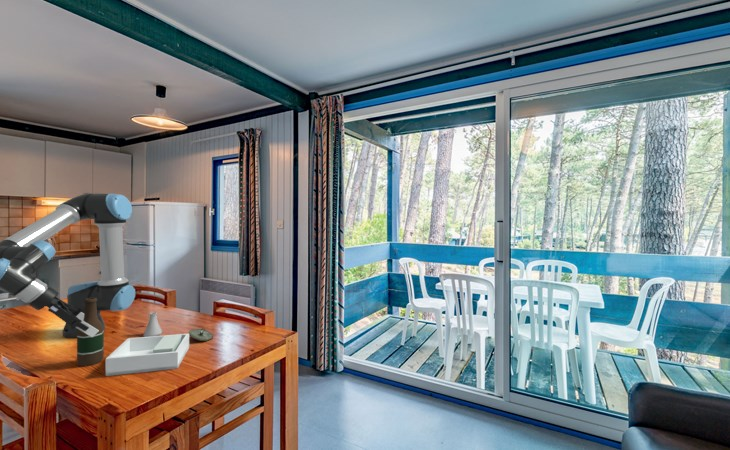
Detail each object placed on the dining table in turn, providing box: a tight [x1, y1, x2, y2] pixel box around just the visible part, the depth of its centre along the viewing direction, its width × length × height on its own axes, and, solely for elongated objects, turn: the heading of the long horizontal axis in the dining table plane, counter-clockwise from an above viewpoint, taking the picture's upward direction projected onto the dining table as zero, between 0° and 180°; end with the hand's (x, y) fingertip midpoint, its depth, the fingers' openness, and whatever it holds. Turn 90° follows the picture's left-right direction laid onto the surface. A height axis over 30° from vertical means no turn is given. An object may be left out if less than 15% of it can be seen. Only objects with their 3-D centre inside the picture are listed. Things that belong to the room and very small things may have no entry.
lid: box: [188, 327, 214, 342], centre depth 149 cm, size 11×10×5 cm
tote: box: [105, 333, 190, 377], centre depth 127 cm, size 20×22×6 cm
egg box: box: [153, 334, 182, 353], centre depth 128 cm, size 14×6×6 cm, turn 17°
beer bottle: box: [76, 298, 105, 367], centre depth 124 cm, size 8×8×24 cm
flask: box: [142, 311, 163, 337], centre depth 154 cm, size 7×7×10 cm
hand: (94, 329), depth 124 cm, fingers open, 13 cm apart
